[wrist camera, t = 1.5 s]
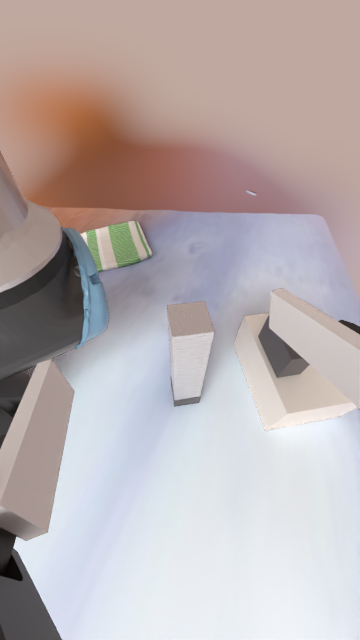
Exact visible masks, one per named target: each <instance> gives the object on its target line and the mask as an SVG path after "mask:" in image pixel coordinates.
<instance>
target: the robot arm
mask: <svg viewBox="0 0 360 640" xmlns="http://www.w3.org/2000/svg"><path fill="white" fill-rule="evenodd" d="M108 322H109V310H108V304H107V299H106V295H105V291H104V288H103V285H102V282H101V281H100V279H99V275H98V270H97V267H96V264H95V261H94V259H93V257H92V254H91V252H90V250H89V248H88V246H87V244H86V242H85V241H84V239H83V238H82V236H81V235H80V233H79V232H78V231H76V230H75V229H72V228H63V227H62V228H61V225H60V223H59V221H58V219H57V218H56V216H54V215H53V214H52V213H51V212H50V211H49V210H47V209H45V208H43V207H41V206H39V205H37V204H35V203H33V202H30V201H28V200H26V199H25V198H24V196H23V194H22V192H21V190H20V188H19V186H18V184H17V183H16V180H15V179H14V177H13V175H12V173H11V171H10V169H9V167H8V165H7V163H6V162H5V160H4V157H3V155H2V153H1V152H0V640H62V639H61V637H60V635H59V633H58V631H57V629H56V627H55V625H54V623H53V621H52V619H51V617H50V615H49V613H48V611H47V609H46V607H45V605H44V603H43V601H42V599H41V597H40V595H39V593H38V591H37V589H36V587H35V585H34V583H33V581H32V579H31V577H30V576H29V574H28V572H27V570H26V568H25V566H24V564H23V562H22V560H21V558H20V556H19V554H18V552H17V551H16V550H15V549H14V548H13V547H14V543H15V539H16V536H17V537H19V538H21V539H23V540H25V541H27V540H29V539H32V538H34V537H37V536H40V535H42V534H45V533H47V532H48V528H49V523H50V518H51V513H52V507H53V502H54V497H55V491H56V486H57V481H58V476H59V470H60V465H61V460H62V454H63V449H64V444H65V439H66V433H67V428H68V423H69V417H70V412H71V407H72V402H73V396H74V390H73V389H72V387H71V386H70V384H69V383H68V382H67V380H66V379H65V377H64V376H63V375H62V373H61V372H60V370H59V369H58V367H57V366H56V365H55V363H54V362H53V360H52V358H54V357H57V356H59V355H61V354H63V353H66V352H68V351H70V350H72V349H75V348H79V347H81V346H82V345H83V344H84V343H85V342H87V341H89V340H91V339H93V338H95V337H97V336H99V335H100V334H102V333H103V332H104V331H105V329H106V328H107V326H108ZM269 328H270V329H271V330H272V331H273V332H275V333H276V334H277V335H278V336H279V337H280V338H281V339H282V340H283V341H284V342H286V343H287V344H288V345H289V346H290V347H291V348H292V349H293V350H294V351H296V352H297V353H298V354H299V355H300V356H301V357H302V358H303V359H304V360H306V361H307V362H308V363H309V364H310V365H311V366H312V367H313V368H314V369H316V370H317V371H318V372H319V373H320V374H321V375H322V376H323V377H324V378H326V379H327V380H328V381H329V382H330V383H331V384H332V385H333V386H334V387H336V388H337V389H338V390H339V391H340V392H341V393H342V394H343V395H344V396H346V397H347V398H348V399H349V400H350V401H351V402H352V403H353V404H354V405H356V406H357V407H358V408H359V409H360V327H359V326H357V325H356V324H353V323H350V322H347V321H344V320H340V321H336V320H335V319H333V318H331V317H330V316H328V315H326V314H325V313H323V312H321V311H320V310H318V309H316V308H315V307H313V306H311V305H310V304H308V303H306V302H305V301H303V300H301V299H299V298H298V297H296V296H294V295H293V294H291V293H289V292H288V291H286V290H284V289H283V288H280V289H277V290H273V291H270V316H269ZM34 366H36V367H35V370H34V372H33V374H32V377H31V378H30V377H29V376H28V375H27V374H25V373H24V372H23V371H25V370H27V369H30V368H32V367H34Z"/></svg>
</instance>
